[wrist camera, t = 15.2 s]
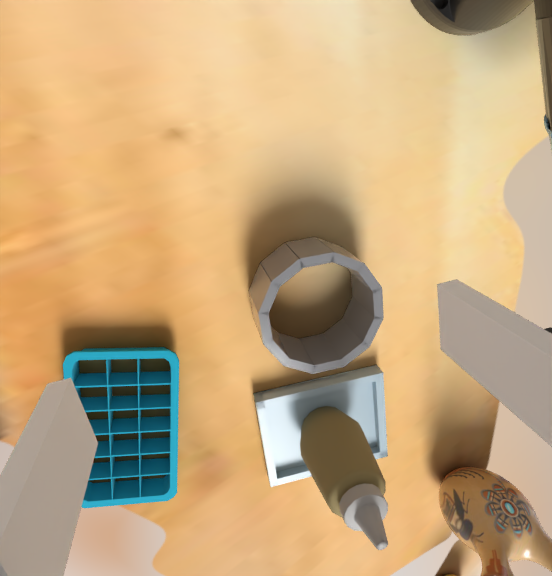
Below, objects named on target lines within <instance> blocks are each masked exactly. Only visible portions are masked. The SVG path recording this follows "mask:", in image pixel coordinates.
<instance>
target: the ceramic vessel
mask: <svg viewBox="0 0 552 576" xmlns="http://www.w3.org/2000/svg"><path fill="white" fill-rule="evenodd" d="M439 504H440V508H441V511H442V514H443V516H444V518H445V520H446V522H447V524H448V525H449V527H450V528H451V530H452V531H453V532H454V534H455V535H456V536H457V537H458V538H459V539H460V540H461V541H462V542H463V543H464V544H465V545H467V546H468V547H469V548H470V549H472V550H473V551H475V552H476V553H478V554H479V556H480V558H481V561H482V573H481V576H514V575H513V573H512V571H511V569H510V566H509V562H514V561H519V560H529V561H533V562H536V563H538V564H540V565H542V566H544V567H545V568H547V569H549V570H550V571H551V572H552V539H551V538H550V537H549V536H548V535H547V534H546V532H545V531H544V529H543V528H542V526H541V524H540V522H539V520H538V518H537V516H536V513H535V511H534V509H533V508H532V506H531V504H530V503H529V501H528V500H527V499H526V497H525V496H524V495H523V494H522V493H521V492H520V491H519V490H518V489H517V488H516V487H515V486H514V485H512V484H511V483H510V482H509V481H507V480H506V479H504V478H503V477H501V476H499V475H497V474H495V473H493V472H491V471H488V470H485V469H481V468H475V467H462V468H458V469H455V470H453V471H451V472H450V473H448V474H447V475H446V476H445V478H444V479H443V481H442V483H441V485H440V489H439Z"/></svg>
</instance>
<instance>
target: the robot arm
mask: <svg viewBox="0 0 552 576" xmlns="http://www.w3.org/2000/svg"><path fill="white" fill-rule="evenodd" d="M533 1H534V4H535V13H536V27H537V36H538V46H539V55H540V64H541V73H542V82H543V92H544V101H545V110H546V115H545V117H544V125H545V129H546V130H547V132H548V134H549V138H550V144H551V150H552V0H411V2H412V4H413V5H414V7H415V8H416V10H417V11H418V12H419V14H420V15H421V16H422V17H423V18H424V19H425V20H426V21H427V22H428V23H430V24H431V25H432V26H434V27H436V28H437V29H439V30H441V31H444V32H446V33H449V34H454V35H474V34H478V33H482V32H485V31H488V30H492V29H494V28H497V27H499V26H501V25H503V24H505V23H507V22H509V21H510V20H512V19H513V18H515V17H516V16H517V15H519V14H520V13H521V12H522V11H523V10H524V9H525V8H526V7H528V6H529V5H530V4H531V3H532V2H533ZM437 289H438V308H439V327H440V346H441V350H442V351H443V352H444V353H445V354H446V355H448V356H449V357H450V358H451V359H452V360H453V361H454V362H456V363H457V364H458V365H459V366H460V367H461V368H462V369H464V370H465V371H466V372H467V373H468V374H469V375H470V376H472V377H473V378H474V379H475V380H476V381H477V382H478V383H479V384H481V385H482V386H483V387H484V388H485V389H486V390H487V391H489V392H490V393H491V394H492V395H493V396H494V397H495V398H497V399H498V400H499V401H500V402H501V403H502V404H503V405H505V406H506V407H507V408H508V409H509V410H510V411H511V412H513V413H514V414H515V415H516V416H517V417H518V418H519V419H521V420H522V421H523V422H524V423H525V424H526V425H527V426H528V427H530V428H531V429H532V430H533V431H534V432H535V433H537V434H538V435H539V436H540V437H541V438H542V439H543V440H545V441H546V442H547V443H548V444H549V445H550V446H551V447H552V328H546V329H543V328H541V327H539V326H537V325H536V324H534V323H532V322H530V321H529V320H527V319H525V318H523V317H522V316H520V315H518V314H516V313H515V312H513V311H511V310H509V309H508V308H506V307H504V306H502V305H501V304H499V303H497V302H495V301H494V300H492V299H490V298H488V297H487V296H485V295H483V294H481V293H480V292H478V291H476V290H474V289H473V288H471V287H469V286H467V285H466V284H464V283H462V282H460V281H459V280H457V279H456V280H452V281H448V282H444V283H440V284H437ZM97 445H98V442H97V439H96V437H95V434H94V432H93V429H92V427H91V425H90V422H89V420H88V417H87V415H86V413H85V410H84V408H83V405H82V403H81V401H80V398H79V396H78V393H77V391H76V388H75V386H74V384H73V381H72V379H71V378H68V379H64V380H60V381H56V382H52V383H48V384H47V386H46V387H45V389H44V391H43V393H42V395H41V397H40V399H39V401H38V403H37V405H36V407H35V409H34V411H33V413H32V415H31V417H30V419H29V420H28V422H27V424H26V426H25V428H24V430H23V432H22V434H21V436H20V438H19V440H18V442H17V444H16V446H15V448H14V450H13V452H12V454H11V455H10V458H9V459H8V461H7V463H6V465H5V467H4V469H3V471H2V473H1V475H0V576H63V575H64V571H65V568H66V564H67V560H68V556H69V552H70V549H71V545H72V540H73V537H74V533H75V529H76V525H77V522H78V518H79V514H80V510H81V507H82V503H83V499H84V495H85V491H86V487H87V484H88V480H89V476H90V472H91V468H92V465H93V461H94V457H95V453H96V449H97Z"/></svg>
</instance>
